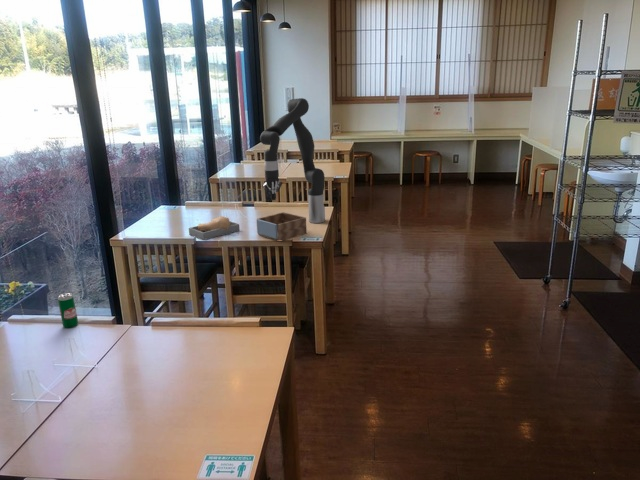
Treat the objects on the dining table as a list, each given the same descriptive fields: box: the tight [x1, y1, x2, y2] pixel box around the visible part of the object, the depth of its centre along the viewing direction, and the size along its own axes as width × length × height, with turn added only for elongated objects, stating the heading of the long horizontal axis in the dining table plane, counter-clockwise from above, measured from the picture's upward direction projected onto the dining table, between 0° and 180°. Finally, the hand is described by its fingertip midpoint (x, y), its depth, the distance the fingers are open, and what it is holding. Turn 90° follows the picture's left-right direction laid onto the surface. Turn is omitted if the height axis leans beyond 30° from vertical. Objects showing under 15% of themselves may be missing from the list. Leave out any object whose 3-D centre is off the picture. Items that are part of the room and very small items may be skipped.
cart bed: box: [257, 211, 308, 241], centre depth 285 cm, size 20×20×10 cm
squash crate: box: [188, 220, 241, 241], centre depth 292 cm, size 25×16×4 cm, turn 134°
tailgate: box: [256, 218, 278, 239], centre depth 277 cm, size 1×17×8 cm, turn 44°
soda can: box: [57, 292, 79, 329], centre depth 180 cm, size 5×5×12 cm
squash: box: [197, 215, 231, 232], centre depth 292 cm, size 11×20×9 cm, turn 86°
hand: (273, 200), depth 276 cm, fingers closed
